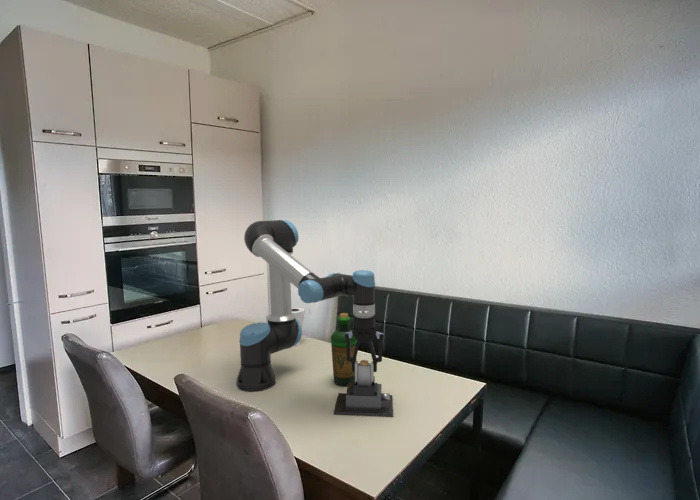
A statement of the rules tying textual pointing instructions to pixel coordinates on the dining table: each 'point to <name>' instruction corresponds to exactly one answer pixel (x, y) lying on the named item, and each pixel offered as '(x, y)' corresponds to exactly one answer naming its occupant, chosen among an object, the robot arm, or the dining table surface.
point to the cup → (298, 317)
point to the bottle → (342, 352)
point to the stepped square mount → (364, 401)
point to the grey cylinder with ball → (364, 373)
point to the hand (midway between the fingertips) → (364, 380)
